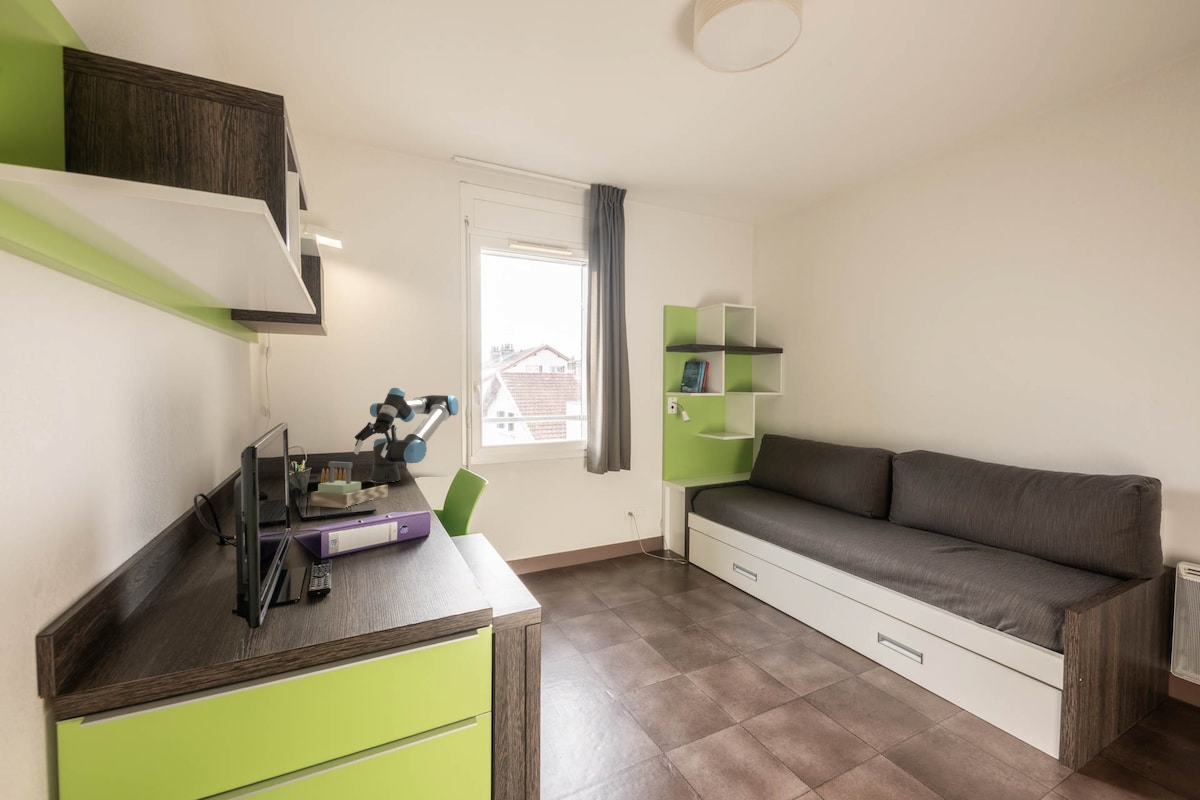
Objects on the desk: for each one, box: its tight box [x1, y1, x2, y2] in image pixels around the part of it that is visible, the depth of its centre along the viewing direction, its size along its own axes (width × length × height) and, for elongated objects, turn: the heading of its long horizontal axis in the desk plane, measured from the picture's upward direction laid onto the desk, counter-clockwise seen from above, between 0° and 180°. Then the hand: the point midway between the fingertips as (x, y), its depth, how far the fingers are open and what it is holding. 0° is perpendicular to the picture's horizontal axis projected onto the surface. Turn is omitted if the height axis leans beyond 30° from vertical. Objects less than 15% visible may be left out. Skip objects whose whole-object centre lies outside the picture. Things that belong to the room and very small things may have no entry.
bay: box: [310, 484, 389, 509], centre depth 208 cm, size 26×16×5 cm, turn 166°
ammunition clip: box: [320, 467, 346, 484], centre depth 221 cm, size 11×2×12 cm, turn 103°
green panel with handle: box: [317, 460, 362, 494], centre depth 202 cm, size 10×12×16 cm
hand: (368, 454), depth 228 cm, fingers open, 13 cm apart
